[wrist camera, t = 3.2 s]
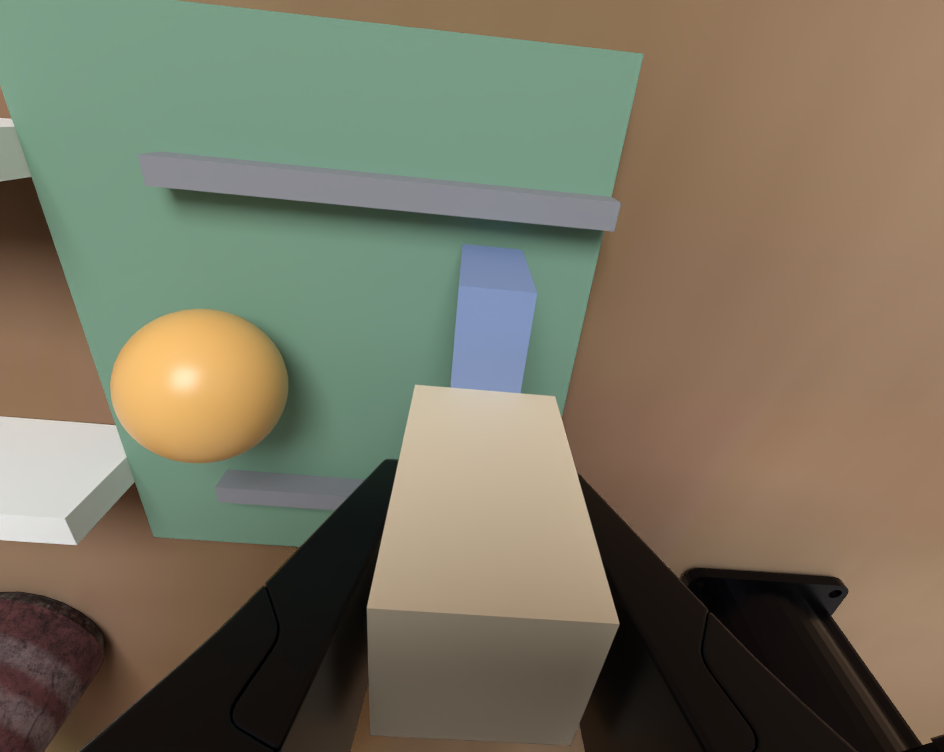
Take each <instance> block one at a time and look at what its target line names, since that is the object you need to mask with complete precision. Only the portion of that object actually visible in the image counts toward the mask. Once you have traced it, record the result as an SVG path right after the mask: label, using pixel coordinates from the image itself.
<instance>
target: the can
mask: <svg viewBox="0 0 944 752" xmlns="http://www.w3.org/2000/svg"><path fill="white" fill-rule="evenodd" d="M103 661H104V640H103V635H102V634H101V632H100V631H99V629H98V628H97V626H96V625H95V624H94V623H93V622H92V621H91V620H89V619H88V618H87V617H86V616H85V615H83V614H82V613H81V612H79V611H77V610H75V609H73V608H71V607H70V606H68V605H66V604H64V603H61V602H59V601H56V600H53V599H50V598H47V597H44V596H40V595H34V594H28V593H23V592H0V752H44V751H45V749H46V748H47V746H48V745H49V743H50V742H51V741H52V739H53V738H54V736H55V735H56V733H57V732H58V730H59V729H60V727H61V726H62V724H63V723H64V721H65V720H66V718H67V717H68V715H69V714H70V712H71V711H72V709H73V708H74V706H75V705H76V703H77V702H78V700H79V699H80V697H81V696H82V694H83V693H84V691H85V690H86V688H87V687H88V685H89V684H90V682H91V681H92V679H93V678H94V676H95V675H96V674H97V672H98V671H99V669H100V667H101V665H102V663H103Z"/></svg>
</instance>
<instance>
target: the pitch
mask: <svg viewBox="0 0 944 752" xmlns="http://www.w3.org/2000/svg"><path fill="white" fill-rule="evenodd" d="M643 55H644V54H641V53H632V52H623V51H614V50H606V49H597V48H588V47H579V46H571V45H562V44H553V43H544V42H536V41H527V40H518V39H509V38H501V37H492V36H483V35H474V34H466V33H457V32H448V31H439V30H431V29H422V28H413V27H404V26H396V25H387V24H378V23H369V22H361V21H352V20H343V19H334V18H325V17H317V16H308V15H299V14H290V13H282V12H273V11H264V10H255V9H247V8H238V7H229V6H220V5H212V4H203V3H194V2H185V1H177V0H0V86H1V89H2V91H3V94H4V97H5V100H6V103H7V106H8V109H9V112H10V115H11V118H12V121H13V124H14V127H15V130H16V133H17V136H18V139H19V142H20V145H21V148H22V150H23V153H24V156H25V159H26V162H27V165H28V168H29V171H30V174H31V177H32V180H33V183H34V186H35V189H36V192H37V195H38V198H39V201H40V204H41V206H42V209H43V212H44V215H45V218H46V221H47V224H48V227H49V230H50V233H51V236H52V239H53V242H54V245H55V248H56V251H57V254H58V257H59V260H60V262H61V265H62V268H63V271H64V274H65V277H66V280H67V283H68V286H69V289H70V292H71V295H72V298H73V301H74V304H75V307H76V310H77V313H78V316H79V319H80V321H81V324H82V327H83V330H84V333H85V336H86V339H87V342H88V345H89V348H90V351H91V354H92V357H93V360H94V363H95V366H96V369H97V372H98V375H99V377H100V380H101V383H102V386H103V389H104V392H105V395H106V398H107V401H108V404H109V407H110V410H111V413H112V416H113V419H114V422H115V425H116V428H117V431H118V433H119V436H120V439H121V442H122V445H123V448H124V451H125V454H126V457H127V460H128V463H129V466H130V469H131V472H132V475H133V478H134V481H135V484H136V487H137V490H138V492H139V495H140V498H141V501H142V504H143V507H144V510H145V513H146V516H147V519H148V522H149V525H150V528H151V531H152V534H153V537H162V538H177V539H191V540H206V541H221V542H236V543H251V544H266V545H281V546H296V547H300V546H301V545H302V544H303V543H304V542H305V541H306V540H307V539H308V538H309V537H310V536H311V535H312V534H313V533H314V532H315V531H316V530H317V529H318V528H319V527H320V526H321V525H322V524H323V523H324V522H325V520H326V519H327V518H328V517H329V516H330V515H331V514H332V513H333V512H334V511H335V510H336V509H337V508H338V507H339V506H340V505H341V504H342V503H343V502H344V501H345V500H346V499H347V498H348V497H349V496H350V495H351V494H352V493H353V491H354V490H355V489H356V488H357V487H358V486H359V485H360V484H361V483H362V482H363V481H364V480H365V479H366V478H367V477H368V476H369V475H370V474H371V473H372V472H373V471H374V470H375V469H376V468H377V467H378V466H379V465H380V464H381V462H382V461H383V460H385V459H399V457H400V452H401V447H402V443H403V438H404V434H405V429H406V424H407V420H408V415H409V410H410V406H411V401H412V397H413V392H414V387H415V385H425V386H437V387H451V374H452V362H453V350H454V338H455V326H456V314H457V302H458V290H459V278H460V267H461V256H462V244H469V245H479V246H490V247H500V248H511V249H521V250H523V253H524V256H525V259H526V262H527V264H528V267H529V270H530V273H531V276H532V279H533V282H534V285H535V288H536V290H537V298H536V304H535V310H534V316H533V322H532V328H531V334H530V340H529V346H528V351H527V357H526V363H525V369H524V375H523V381H522V387H521V393H522V394H535V395H547V396H555V398H556V401H557V405H558V408H559V412H560V415H561V418H562V414H563V409H564V405H565V400H566V396H567V391H568V387H569V383H570V378H571V374H572V369H573V365H574V360H575V356H576V352H577V347H578V343H579V338H580V334H581V329H582V325H583V321H584V316H585V312H586V307H587V303H588V298H589V294H590V290H591V285H592V281H593V276H594V272H595V267H596V263H597V259H598V254H599V250H600V245H601V241H602V236H603V232H604V231H613V232H614V230H615V226H616V222H617V218H618V213H619V209H620V205H621V202H619V201H617V200H616V199H614V198H613V197H612V192H613V188H614V183H615V179H616V174H617V170H618V166H619V161H620V157H621V152H622V148H623V143H624V139H625V135H626V130H627V126H628V121H629V117H630V112H631V108H632V104H633V99H634V95H635V90H636V86H637V81H638V77H639V73H640V68H641V64H642V59H643ZM189 309H212V310H219V311H224V312H228V313H231V314H234V315H237V316H239V317H241V318H243V319H245V320H247V321H249V322H251V323H252V324H254V325H255V326H257V327H258V328H259V329H261V330H262V331H263V332H264V333H265V334H266V335H267V336H268V337H269V338H270V339H271V340H272V341H273V343H274V344H275V345H276V347H277V348H278V350H279V351H280V353H281V355H282V357H283V360H284V363H285V366H286V369H287V374H288V397H287V401H286V405H285V408H284V411H283V413H282V415H281V417H280V419H279V421H278V423H277V424H276V425H275V427H274V428H273V429H272V431H271V432H270V433H269V434H268V435H267V436H266V437H265V438H264V439H263V440H262V441H261V442H260V443H259V444H257V445H256V446H254V447H253V448H251V449H250V450H248V451H246V452H244V453H242V454H240V455H238V456H235V457H233V458H230V459H227V460H223V461H218V462H212V463H184V462H178V461H174V460H170V459H167V458H164V457H162V456H159V455H157V454H155V453H153V452H151V451H149V450H148V449H146V448H144V447H143V446H142V445H140V444H139V443H138V442H137V441H136V440H134V439H133V438H132V437H131V436H130V435H129V434H128V432H127V431H126V430H125V429H124V427H123V426H122V425H121V423H120V421H119V419H118V418H117V415H116V413H115V410H114V407H113V404H112V400H111V391H110V381H111V374H112V370H113V366H114V363H115V361H116V359H117V357H118V355H119V353H120V351H121V349H122V348H123V346H124V345H125V344H126V342H127V341H128V340H129V339H130V338H131V336H133V335H134V334H135V333H136V332H137V331H138V330H139V329H141V328H142V327H143V326H145V325H146V324H148V323H150V322H151V321H153V320H155V319H157V318H159V317H161V316H164V315H166V314H170V313H173V312H177V311H181V310H189Z"/></svg>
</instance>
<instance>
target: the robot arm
mask: <svg viewBox="0 0 944 752" xmlns="http://www.w3.org/2000/svg"><path fill="white" fill-rule="evenodd" d="M398 461H399V459H385V460H383V461H382V462H381V464H380V465H379V466H378V467H377V468H376V469H375V470H374V471H373V472H372V473H371V474H370V475H369V476H368V477H367V478H366V479H365V480H364V481H363V482H362V483H361V484H360V485H359V486H358V487H357V488H356V489H355V490H354V491H353V493H352V494H351V495H350V496H349V497H348V498H347V499H346V500H345V501H344V502H343V503H342V504H341V505H340V506H339V507H338V508H337V509H336V510H335V511H334V512H333V513H332V514H331V515H330V516H329V517H328V518H327V519H326V520H325V522H324V523H323V524H322V525H321V526H320V527H319V528H318V529H317V530H316V531H315V532H314V533H313V534H312V535H311V536H310V537H309V538H308V539H307V540H306V541H305V542H304V543H303V544H302V545H301V546H300V547H299V548H298V549H297V551H296V552H295V553H294V554H293V555H292V556H291V557H290V558H289V559H288V560H287V561H286V562H285V563H284V564H283V565H282V566H281V567H280V568H279V569H278V570H277V571H276V572H275V573H274V574H273V575H272V576H271V577H270V578H269V579H268V581H267V582H266V583H265V586H266V587H265V586H262V587H260V588H259V589H258V591H257V592H256V593H255V594H254V595H253V596H252V597H251V598H250V599H249V600H248V601H247V602H246V603H245V604H244V605H243V606H242V607H241V608H240V609H239V610H238V611H237V612H236V613H235V614H234V615H233V616H232V617H231V618H230V619H229V620H228V621H227V622H226V623H225V624H224V625H223V626H222V627H221V628H220V629H219V630H218V631H217V632H215V633H214V634H213V635H212V636H211V637H210V638H209V639H208V640H207V641H205V642H204V643H203V644H202V645H201V646H200V647H199V648H198V649H197V650H195V651H194V652H193V653H192V654H191V655H190V656H189V657H188V658H186V659H185V660H184V661H183V662H182V663H181V664H180V665H179V666H177V667H176V668H175V669H174V670H173V671H172V672H170V673H169V674H168V675H167V676H166V677H165V678H163V679H162V680H161V681H160V682H159V683H158V684H157V685H155V686H154V687H153V688H152V689H151V690H150V691H148V692H147V693H146V694H145V695H144V696H143V697H141V698H140V699H139V700H138V701H137V702H136V703H134V704H133V705H132V706H131V707H130V708H129V709H128V710H126V711H125V712H124V713H123V714H122V715H121V716H119V717H118V718H117V719H116V720H115V721H114V722H112V723H111V724H110V725H109V726H108V727H107V728H105V729H104V730H103V731H102V732H101V733H100V734H99V735H97V736H96V737H95V738H94V739H93V740H92V741H90V742H89V743H88V744H87V745H86V746H84V747H83V748H82V749H81V750H79V751H78V752H350V750H351V746H352V743H353V739H354V735H355V731H356V727H357V723H358V720H359V716H360V712H361V708H362V704H363V700H364V697H365V693H366V689H367V685H368V681H369V678H368V639H367V605H368V600H369V595H370V591H371V586H372V581H373V577H374V572H375V568H376V563H377V558H378V554H379V549H380V544H381V540H382V535H383V531H384V526H385V521H386V517H387V512H388V507H389V503H390V498H391V494H392V489H393V484H394V480H395V475H396V471H397V466H398ZM577 475H578V479H579V482H580V486H581V489H582V493H583V496H584V500H585V503H586V507H587V510H588V514H589V518H590V521H591V525H592V528H593V532H594V535H595V539H596V542H597V546H598V549H599V553H600V556H601V560H602V563H603V567H604V570H605V574H606V578H607V581H608V585H609V588H610V592H611V595H612V599H613V602H614V606H615V609H616V613H617V616H618V620H619V623H620V624H619V627H618V629H617V632H616V634H615V637H614V639H613V642H612V644H611V647H610V649H609V652H608V654H607V657H606V659H605V662H604V664H603V666H602V669H601V671H600V674H599V676H598V679H597V681H596V684H595V686H594V689H593V691H592V694H591V696H590V699H589V701H588V704H587V706H586V709H585V711H584V713H583V716H582V718H581V721H580V729H581V734H582V739H583V744H584V749H585V752H944V734H943V735H940V736H937V737H933V738H931V740H932V741H933V742H932V743H928V744H925V745H922V744H921V742H920V741H919V740H918V738H917V737H916V735H915V734H914V732H913V731H912V730H911V728H910V727H909V725H908V724H907V723H906V721H905V720H904V718H903V717H902V715H901V714H900V713H899V711H898V710H897V708H896V707H895V706H894V704H893V703H892V701H891V700H890V699H889V697H888V696H887V694H886V693H885V691H884V690H883V689H882V687H881V686H880V684H879V683H878V682H877V680H876V679H875V677H874V676H873V674H872V673H871V672H870V670H869V669H868V667H867V666H866V665H865V663H864V662H863V660H862V659H861V657H860V656H859V655H858V653H857V652H856V650H855V649H854V648H853V646H852V645H851V643H850V642H849V641H848V639H847V638H846V636H845V635H844V633H843V632H842V631H841V629H840V628H839V626H838V625H837V624H836V622H835V621H834V619H833V618H832V614H833V613H834V612H835V610H836V609H837V608H838V606H839V605H840V604H841V602H842V601H843V600H844V598H845V597H846V596H847V594H848V588H847V587H846V586H845V585H844V583H843V582H842V581H841V580H840V579H839V578H836V577H824V576H809V575H794V574H779V573H765V572H750V571H735V570H720V569H706V568H697V569H693V570H691V571H689V572H688V573H687V574H686V575H685V577H684V579H683V581H681V580H680V579H679V578H678V577H677V576H676V575H675V574H674V573H673V572H672V571H671V570H670V569H669V568H668V567H667V566H666V565H665V564H664V563H663V561H662V560H661V559H660V558H659V557H658V556H657V555H656V554H655V553H654V552H653V551H652V550H651V549H650V548H649V547H648V546H647V545H646V544H645V543H644V542H643V540H642V539H641V538H640V537H639V536H638V535H637V534H636V533H635V532H634V531H633V530H632V529H631V528H630V527H629V526H628V525H627V524H626V523H625V522H624V521H623V519H622V518H621V517H620V516H619V515H618V514H617V513H616V512H615V511H614V510H613V509H612V508H611V507H610V506H609V505H608V504H607V503H606V502H605V501H604V500H603V498H602V497H601V496H600V495H599V494H598V493H597V492H596V491H595V490H594V489H593V488H592V487H591V486H590V485H589V484H588V483H587V482H586V481H585V480H584V479H583V478H582V476H581V475H580V474H578V473H577Z"/></svg>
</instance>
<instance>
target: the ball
mask: <svg viewBox="0 0 944 752" xmlns="http://www.w3.org/2000/svg"><path fill="white" fill-rule="evenodd" d="M110 391H111V400H112V404H113V407H114V410H115V413H116V415H117V418H118V419H119V421H120V423H121V425H122V426H123V427H124V429H125V430H126V431H127V432H128V434H129V435H130V436H131V437H132V438H133V439H134V440H136V441H137V442H138V443H139V444H140V445H142V446H143V447H144V448H146V449H148V450H149V451H151V452H153V453H155V454H157V455H159V456H162V457H164V458H167V459H170V460H174V461H178V462H184V463H212V462H218V461H223V460H227V459H230V458H233V457H235V456H238V455H240V454H242V453H244V452H246V451H248V450H250V449H251V448H253V447H254V446H256V445H257V444H259V443H260V442H261V441H262V440H263V439H264V438H265V437H266V436H267V435H268V434H269V433H270V432H271V431H272V429H273V428H274V427H275V425H276V424H277V423H278V421H279V419H280V417H281V415H282V413H283V411H284V408H285V405H286V401H287V397H288V374H287V369H286V366H285V363H284V360H283V357H282V355H281V353H280V351H279V350H278V348H277V347H276V345H275V344H274V343H273V341H272V340H271V339H270V338H269V337H268V336H267V335H266V334H265V333H264V332H263V331H262V330H261V329H259V328H258V327H257V326H255V325H254V324H252V323H251V322H249V321H247V320H245V319H243V318H241V317H239V316H237V315H234V314H231V313H228V312H224V311H219V310H212V309H189V310H181V311H177V312H173V313H170V314H166V315H164V316H161V317H159V318H157V319H155V320H153V321H151V322H150V323H148V324H146V325H145V326H143V327H142V328H141V329H139V330H138V331H137V332H136V333H135V334H134V335H133V336H131V338H130V339H129V340H128V341H127V342H126V344H125V345H124V346H123V348H122V349H121V351H120V353H119V355H118V357H117V359H116V361H115V363H114V366H113V370H112V374H111V381H110Z"/></svg>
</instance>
